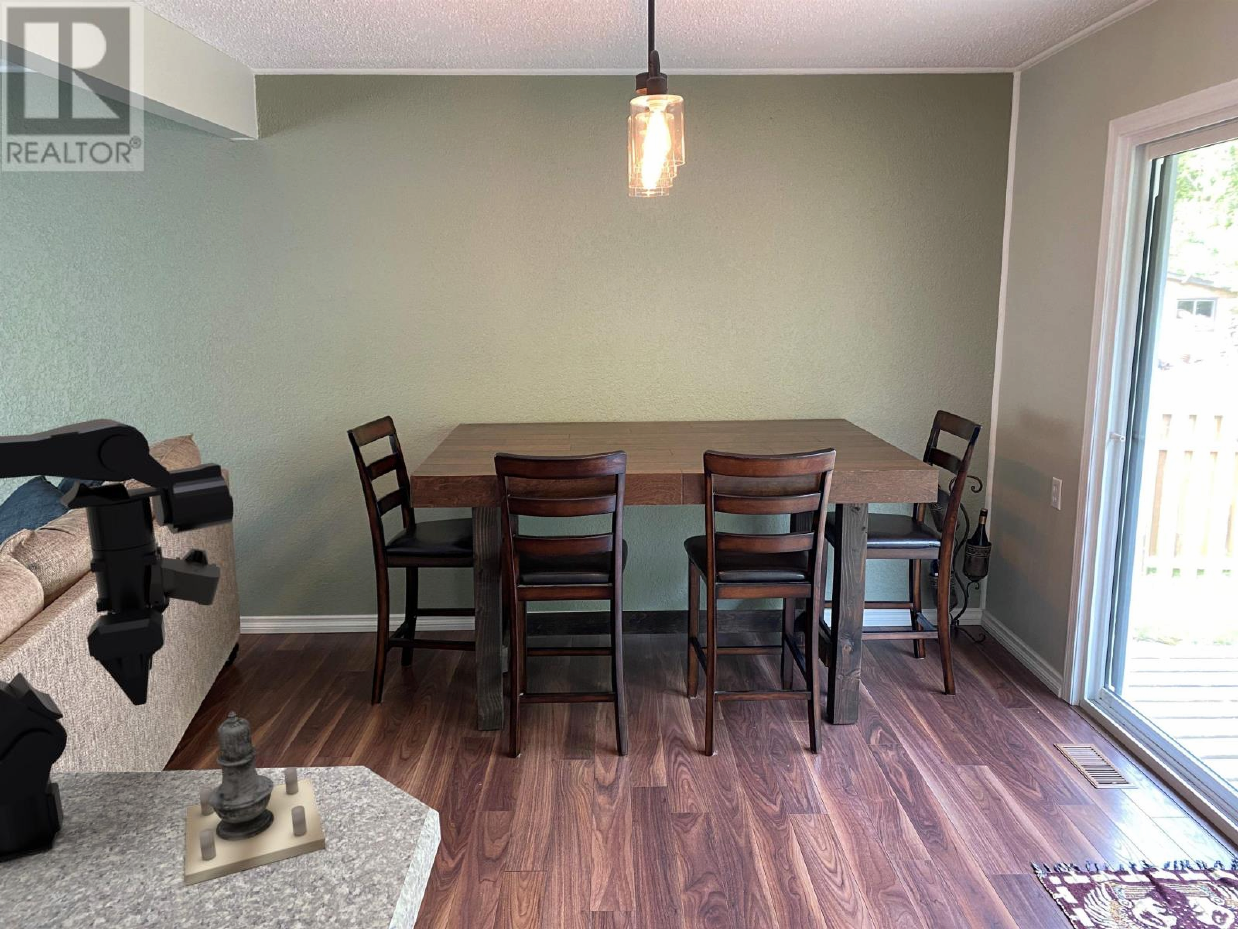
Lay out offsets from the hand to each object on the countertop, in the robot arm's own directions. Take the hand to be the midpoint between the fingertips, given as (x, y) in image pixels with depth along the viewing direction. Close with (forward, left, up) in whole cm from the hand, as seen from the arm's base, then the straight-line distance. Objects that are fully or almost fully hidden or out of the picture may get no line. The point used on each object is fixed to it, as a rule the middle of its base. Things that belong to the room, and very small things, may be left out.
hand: (143, 686), depth 92 cm
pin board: (+9, -13, -12) cm, 20 cm away
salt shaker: (+8, -13, -11) cm, 19 cm away
